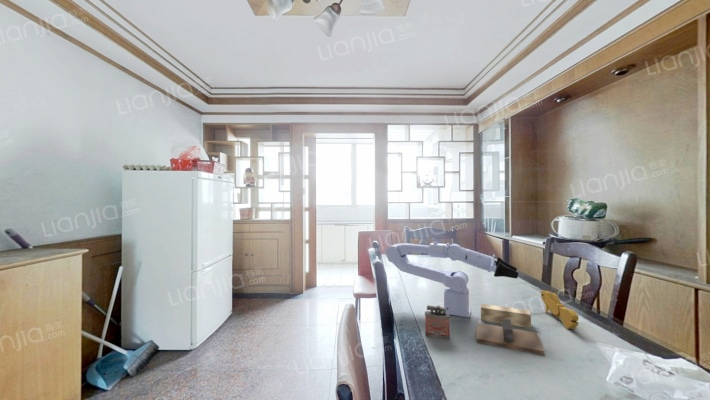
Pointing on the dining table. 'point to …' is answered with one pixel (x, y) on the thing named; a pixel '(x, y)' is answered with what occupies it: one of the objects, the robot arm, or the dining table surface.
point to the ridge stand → (509, 337)
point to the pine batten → (506, 315)
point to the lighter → (437, 322)
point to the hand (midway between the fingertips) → (517, 273)
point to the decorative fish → (559, 310)
